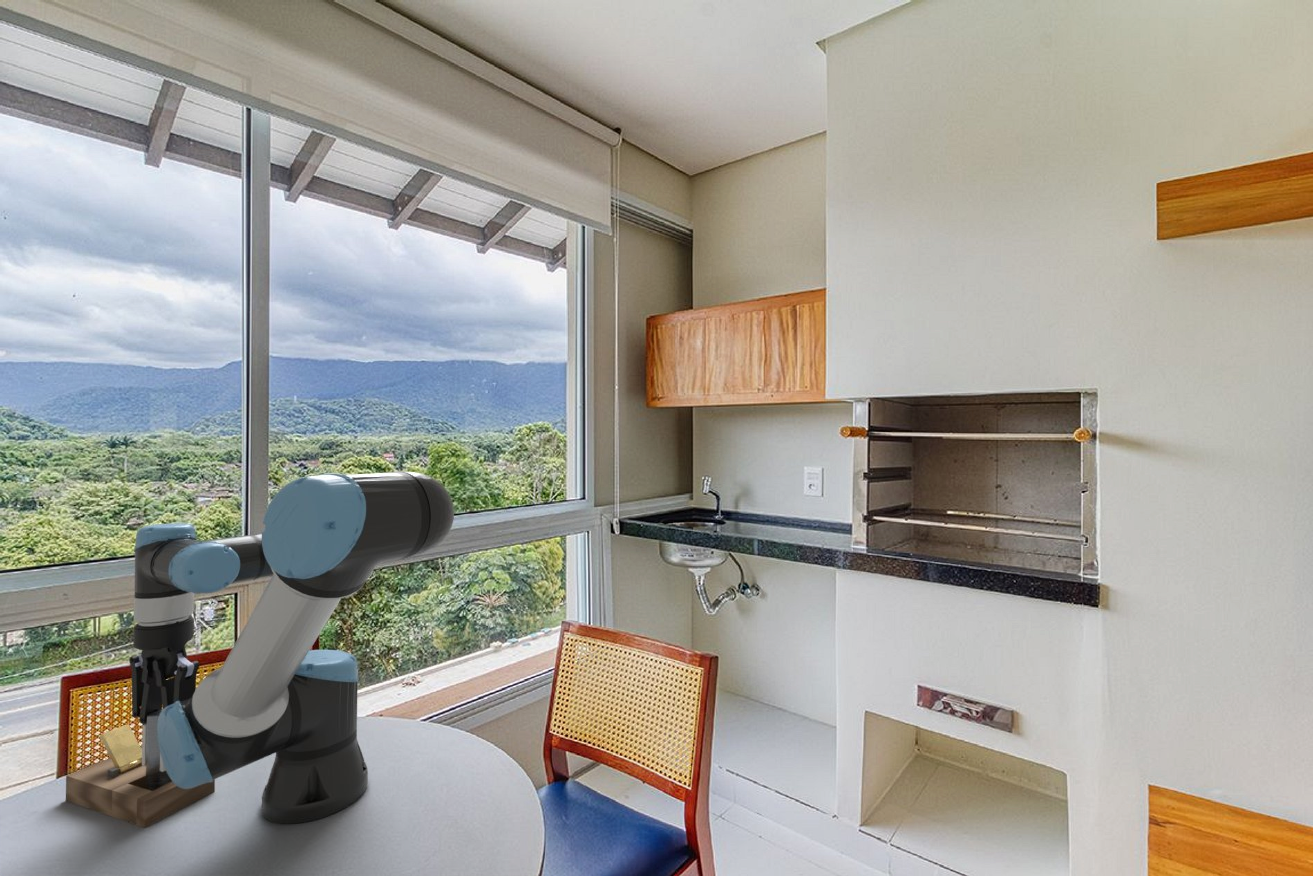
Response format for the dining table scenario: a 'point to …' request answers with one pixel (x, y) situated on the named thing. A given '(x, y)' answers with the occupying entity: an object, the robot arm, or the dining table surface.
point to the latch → (122, 748)
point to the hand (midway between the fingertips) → (161, 764)
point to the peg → (154, 756)
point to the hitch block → (128, 793)
